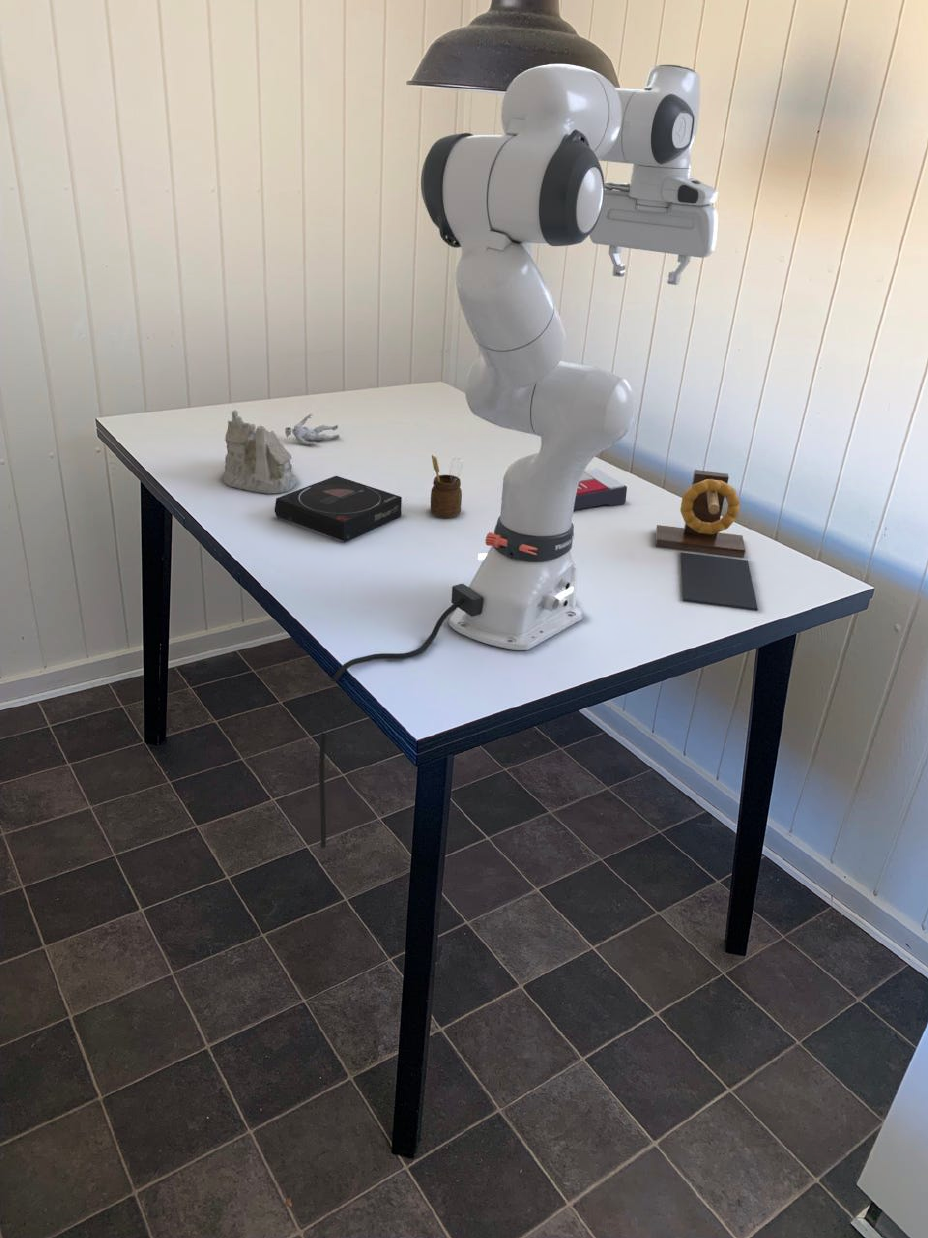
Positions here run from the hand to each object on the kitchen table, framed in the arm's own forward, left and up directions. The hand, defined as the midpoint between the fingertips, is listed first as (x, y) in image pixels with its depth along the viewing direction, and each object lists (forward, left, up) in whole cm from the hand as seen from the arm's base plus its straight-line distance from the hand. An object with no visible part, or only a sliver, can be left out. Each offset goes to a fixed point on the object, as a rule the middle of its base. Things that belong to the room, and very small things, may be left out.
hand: (645, 279), depth 155 cm
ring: (+4, -16, -37) cm, 40 cm away
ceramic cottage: (-14, +70, -47) cm, 85 cm away
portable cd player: (-21, +46, -47) cm, 69 cm away
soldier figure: (+11, +77, -47) cm, 91 cm away
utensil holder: (-7, +31, -47) cm, 57 cm away
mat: (-4, -22, -46) cm, 52 cm away
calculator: (+17, +13, -47) cm, 51 cm away
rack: (+5, -16, -47) cm, 49 cm away
